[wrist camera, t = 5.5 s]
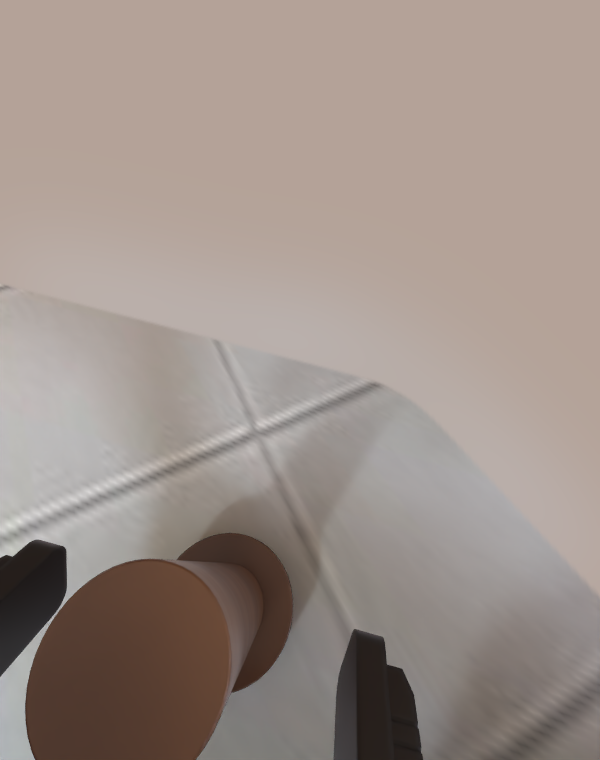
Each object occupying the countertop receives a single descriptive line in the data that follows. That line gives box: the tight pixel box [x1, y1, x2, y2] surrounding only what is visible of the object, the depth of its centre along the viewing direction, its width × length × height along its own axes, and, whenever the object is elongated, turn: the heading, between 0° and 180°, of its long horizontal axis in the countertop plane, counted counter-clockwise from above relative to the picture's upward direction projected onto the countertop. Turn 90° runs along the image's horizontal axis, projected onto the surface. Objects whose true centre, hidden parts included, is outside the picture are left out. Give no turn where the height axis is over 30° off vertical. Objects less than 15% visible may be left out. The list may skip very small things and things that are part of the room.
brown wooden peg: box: [25, 533, 293, 760], centre depth 10 cm, size 5×5×11 cm
